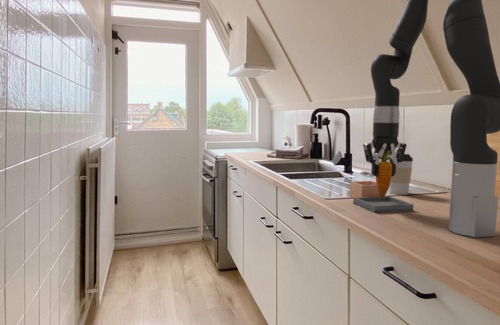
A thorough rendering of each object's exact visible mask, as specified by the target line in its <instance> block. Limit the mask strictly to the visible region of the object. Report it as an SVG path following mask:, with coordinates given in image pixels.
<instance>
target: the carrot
mask: <svg viewBox="0 0 500 325" xmlns="http://www.w3.org/2000/svg"><path fill="white" fill-rule="evenodd" d="M389 154H390V150H388V153H387V154H385V153H384V154H383V155H382V158H380V161H379V164H378V165H379V175H378V177H375V182H376V185H377V189H378V192H379V194H380V196H381V197H382V198H383V197H384V196H387V195H386V194H387V193H388V192H389V186H390V182H391V176H392V164H391V163H390V162H388V159H389V158H391V157H388V155H389Z"/></svg>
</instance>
